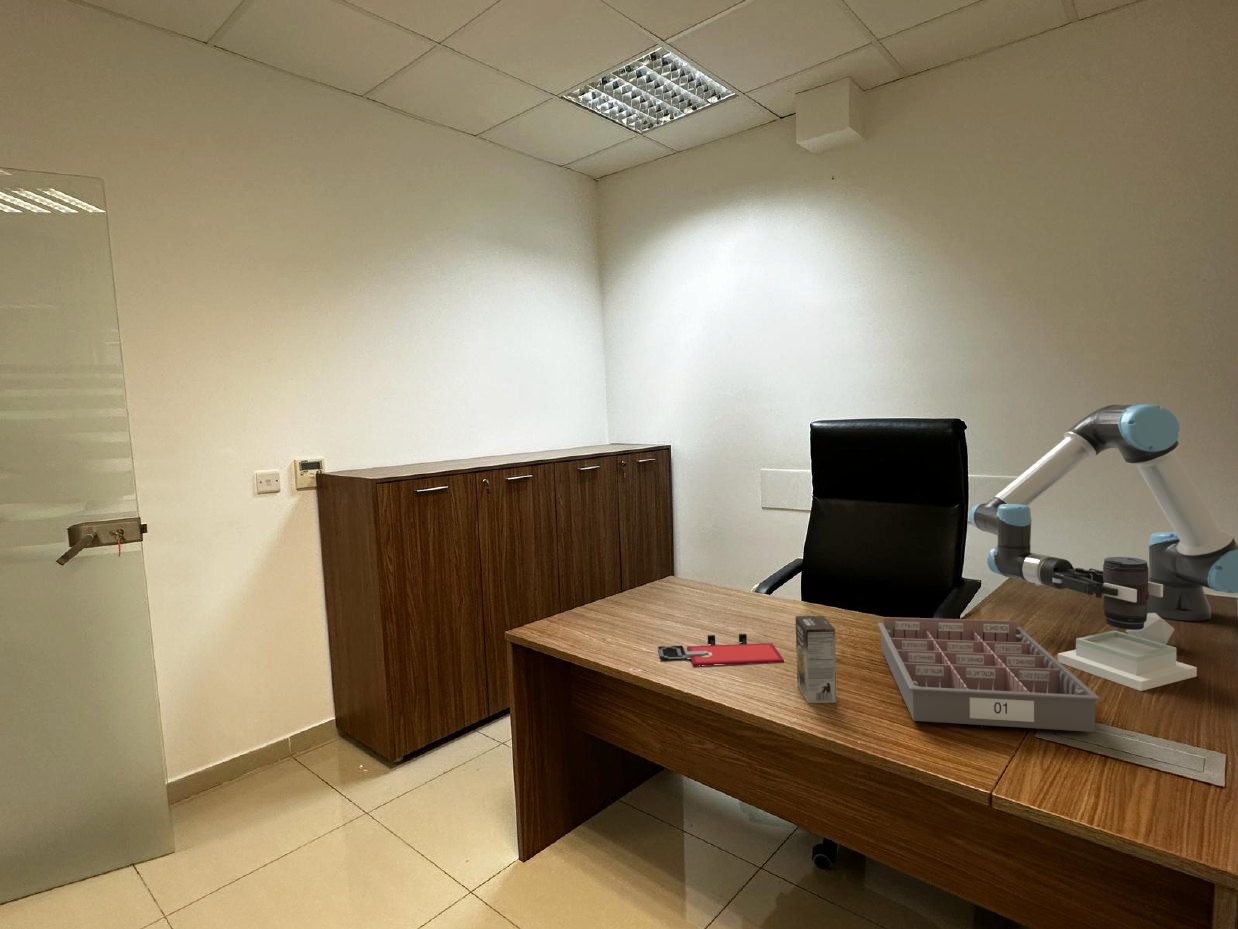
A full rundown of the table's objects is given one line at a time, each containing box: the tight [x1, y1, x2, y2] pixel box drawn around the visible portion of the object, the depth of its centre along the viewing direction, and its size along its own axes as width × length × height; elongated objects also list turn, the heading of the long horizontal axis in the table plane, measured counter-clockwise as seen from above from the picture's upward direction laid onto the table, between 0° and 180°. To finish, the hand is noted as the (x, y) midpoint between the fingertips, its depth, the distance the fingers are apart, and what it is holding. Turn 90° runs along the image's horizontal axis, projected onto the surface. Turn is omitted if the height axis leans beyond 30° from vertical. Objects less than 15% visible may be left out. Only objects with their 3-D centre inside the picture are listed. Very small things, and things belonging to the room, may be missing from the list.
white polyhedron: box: [1125, 613, 1175, 645], centre depth 161 cm, size 8×9×10 cm
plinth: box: [1057, 630, 1198, 692], centre depth 147 cm, size 18×18×6 cm
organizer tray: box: [877, 616, 1102, 733], centre depth 140 cm, size 32×40×10 cm
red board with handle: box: [657, 633, 785, 667], centre depth 167 cm, size 30×3×15 cm
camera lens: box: [1102, 556, 1149, 630], centre depth 146 cm, size 8×8×15 cm
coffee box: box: [795, 615, 837, 704], centre depth 141 cm, size 9×6×16 cm
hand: (1148, 593), depth 142 cm, fingers closed on camera lens, 8 cm apart
